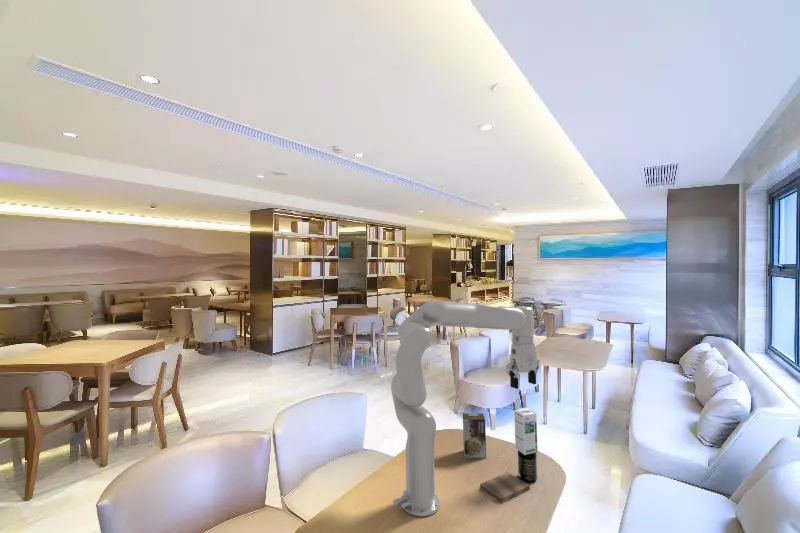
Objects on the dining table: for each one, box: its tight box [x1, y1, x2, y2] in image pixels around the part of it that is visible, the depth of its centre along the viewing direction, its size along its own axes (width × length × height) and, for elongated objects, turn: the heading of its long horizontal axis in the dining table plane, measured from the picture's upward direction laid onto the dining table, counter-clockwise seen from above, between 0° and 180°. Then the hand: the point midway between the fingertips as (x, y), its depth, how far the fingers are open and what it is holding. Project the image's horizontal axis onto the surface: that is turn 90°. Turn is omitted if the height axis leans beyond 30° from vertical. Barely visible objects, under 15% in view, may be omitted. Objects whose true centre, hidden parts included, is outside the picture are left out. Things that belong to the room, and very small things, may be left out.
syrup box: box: [513, 408, 538, 455], centre depth 134 cm, size 6×6×14 cm
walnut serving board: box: [479, 472, 531, 504], centre depth 128 cm, size 14×10×2 cm
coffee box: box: [462, 412, 487, 459], centre depth 153 cm, size 9×6×16 cm
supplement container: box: [517, 450, 538, 484], centre depth 134 cm, size 7×7×10 cm
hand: (523, 385), depth 135 cm, fingers open, 9 cm apart
